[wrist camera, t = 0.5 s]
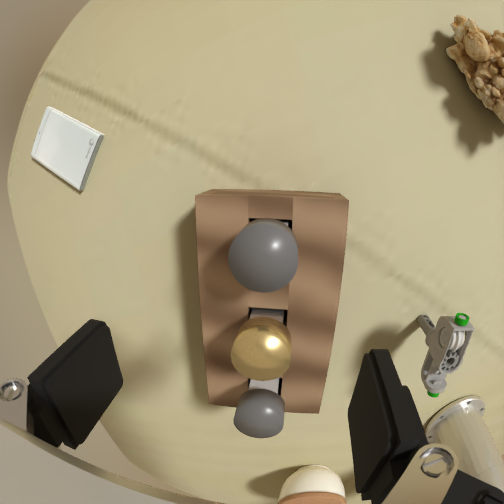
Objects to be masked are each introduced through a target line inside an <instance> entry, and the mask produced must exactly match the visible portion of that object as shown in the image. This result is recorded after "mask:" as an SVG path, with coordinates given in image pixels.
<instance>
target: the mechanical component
mask: <svg viewBox="0 0 504 504" xmlns="http://www.w3.org/2000/svg"><path fill="white" fill-rule="evenodd" d="M417 321H418V323H419V325H420V326H421V328H422V330H423V331H424V333H425V334H426V340H425V341H426V344H427V346H429V350H428V353H427V355H426V358H425V361H424V364H423V366H422V370H421V378H422V381H423V383H424V386H425V388H426V389H427V390H428V391H427V393H428V395H429V396H431V397H438V395H439V393H442V392H443V391H444V390H445V387H446V385H447V384H446V381H445V377H446V375H447V374H448V373H452V372H454V371H455V370H457V369H458V368H459V366H460V365H461V363H462V360H463V356H464V354H465V351H466V348H467V346H468V343H469V341H470V338H471V335H472V332H473V330H474V327H473V326H472V325H471V323H470V322H469V316H468V315H466V314H463V313H457V314H456V316H442V317H440V318H439V319H438V322H437V325H436V327H435V325H434V324H433V323H432V321H431V320H430V318H429V317H428V316H427V315H426V316H425V317H424V316H423V315H420V316H419V317H418V319H417ZM464 331H465V341H464ZM463 341H464V344H463ZM462 344H463V345H462Z"/></svg>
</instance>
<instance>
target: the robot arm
mask: <svg viewBox="0 0 504 504" xmlns="http://www.w3.org/2000/svg"><path fill="white" fill-rule="evenodd" d="M28 380H29V382H30V384H29V385H28V386H27V384H26V382H25V381H23V380H22V379H18V378H13V379H8V380H6V381H4V382H3V383H2V384H1V385H0V504H224V503H218V502H213V501H208V500H203V499H198V498H193V497H189V496H185V495H180V494H176V493H172V492H169V491H165V490H162V489H158V488H155V487H151V486H148V485H145V484H142V483H138V482H136V481H133V480H130V479H127V478H124V477H122V476H118V475H116V474H114V473H111V472H108V471H106V470H103V469H101V468H99V467H96V466H94V465H91V464H89V463H87V462H85V461H82V460H80V459H78V458H76V457H74V456H72V455H70V454H68V453H66V452H63V451H62V450H61V447H60V445H61V443H62V442H63V443H64V445H66V446H68V447H70V448H72V449H76V448H77V447H78V445H79V444H82V443H83V442H84V441H85V439H86V438H87V436H88V435H89V433H90V432H91V431H92V429H93V428H94V426H95V425H96V423H97V422H98V420H99V419H100V418H101V416H102V415H103V413H104V412H105V410H106V409H107V407H108V406H109V405H110V403H111V402H112V400H113V399H114V397H115V396H116V395H117V393H118V392H119V390H120V389H121V387H122V385H123V378H122V374H121V371H120V367H119V364H118V360H117V356H116V353H115V349H114V345H113V341H112V337H111V332H110V329H109V327H108V326H107V325H106V323H105V322H103V321H99V320H94V319H90V320H89V321H88V322H87V323H85V324H84V325H83V326H82V327H81V328H80V329H79V330H78V331H76V332H75V333H74V334H73V335H72V336H71V337H70V338H69V339H68V340H67V341H65V342H64V343H63V344H62V345H61V346H60V347H59V348H58V349H57V350H56V351H55V352H54V353H53V354H51V355H50V356H49V357H48V358H47V359H46V360H45V361H44V362H43V363H42V364H41V365H40V366H39V367H38V368H37V369H36V370H35V371H34V372H32V373H31V374H30V375H29V377H28ZM484 411H485V404H484V402H483V400H482V399H481V398H480V397H478V396H467V397H464V398H461V399H458V400H456V401H454V402H452V403H450V404H449V405H447V406H446V407H444V408H443V409H442V410H441V411H439V412H438V413H437V414H436V415H435V416H434V417H433V418H432V419H431V421H430V422H429V424H428V425H427V427H426V429H425V431H424V428H423V426H422V423H421V420H420V417H419V414H418V412H417V409H416V406H415V403H414V401H413V398H412V395H411V393H410V390H409V388H408V387H407V386H406V385H405V386H402V384H401V382H400V379H399V377H398V374H397V371H396V369H395V366H394V364H393V361H392V359H391V356H390V353H389V351H388V350H387V349H372V350H370V352H369V353H366V354H365V355H364V357H363V361H362V365H361V368H360V372H359V375H358V379H357V382H356V386H355V389H354V392H353V395H352V399H351V402H350V405H349V408H348V421H349V429H350V437H351V446H352V455H353V464H354V475H355V486H356V492H357V493H361V496H362V501H363V500H371V502H372V504H504V462H503V460H502V458H501V455H500V453H499V451H498V448H497V446H496V444H495V442H494V440H493V438H492V436H491V434H490V432H489V430H488V428H487V426H486V424H485V422H484V420H483V418H482V416H483V414H484ZM428 442H429V443H431V444H429V443H428Z"/></svg>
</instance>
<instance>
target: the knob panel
mask: <svg viewBox="0 0 504 504" xmlns="http://www.w3.org/2000/svg"><path fill="white" fill-rule="evenodd" d="M195 206H196V236H197V259H198V277H199V293H200V308H201V321H202V334H203V345H204V356H205V367H206V376H207V386H208V395H209V404H215V405H221V406H229V407H236V408H237V405H238V401H239V398H240V396H241V395H242V394H243V393H244V392H246V391H248V389H249V385H250V381H251V379H249V378H247V377H245V376H243V375H242V374H241V373H239V372H238V371H237V370H236V369H235V367H234V366H233V364H232V361H231V350H232V347H233V345H234V342H235V339H236V336H237V333H238V331H239V329H240V327H241V326H242V325H243V324H244V323H245V322H246V321H248V320H249V318H250V315H251V312H252V309H253V307H255V308H269V309H284V321H283V324H284V325H285V326H286V327H287V328H288V330H289V332H290V334H291V338H292V344H291V360H290V365H289V368H288V369H287V371H286V372H285V373H284V374H283V375H282V376H280V377H279V388H278V394H279V395H280V396H281V397H282V398H283V400H284V402H285V412H292V413H317V414H319V410H320V405H321V401H322V396H323V391H324V387H325V382H326V377H327V371H328V366H329V361H330V355H331V350H332V344H333V338H334V332H335V325H336V319H337V312H338V305H339V297H340V290H341V282H342V273H343V264H344V255H345V245H346V233H347V221H348V207H349V200H347V199H346V198H345V197H343V196H342V195H341V194H339V193H323V192H304V191H280V190H242V189H212V190H209V191H206V192H203V193H201V194H198V195H195ZM255 218H272V219H288V227H289V228H290V229H291V230H292V231H293V233H294V235H295V237H296V239H297V242H298V267H297V271H296V273H295V275H294V277H293V279H292V280H291V281H290V282H289V283H288V284H287V285H286V286H284V287H283V288H281V289H279V290H277V291H274V292H268V293H261V292H255V291H252V290H249V289H247V288H245V287H244V286H242V285H241V284H240V283H239V282H238V281H237V280H236V279H235V277H234V276H233V274H232V272H231V270H230V267H229V263H228V253H229V249H230V246H231V244H232V242H233V240H234V239H235V238H236V236H237V235H238V234H239V233H240V231H241V230H242V229H243V228H244V227H245V226H246V225H247V224H248V223H250V222H252V221H254V220H255Z"/></svg>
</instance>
